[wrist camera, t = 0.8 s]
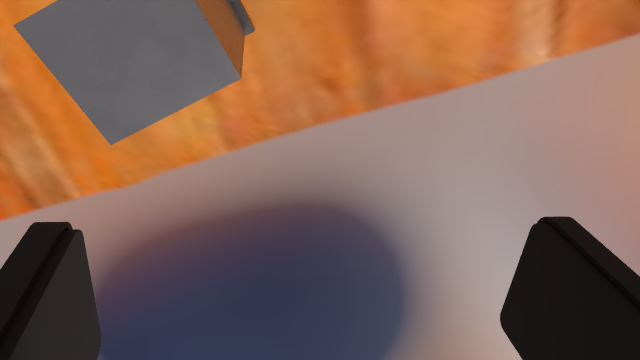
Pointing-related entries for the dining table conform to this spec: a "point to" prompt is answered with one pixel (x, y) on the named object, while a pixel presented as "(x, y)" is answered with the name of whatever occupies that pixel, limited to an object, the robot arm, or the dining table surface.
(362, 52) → the dining table surface
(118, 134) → the tabletop unit
